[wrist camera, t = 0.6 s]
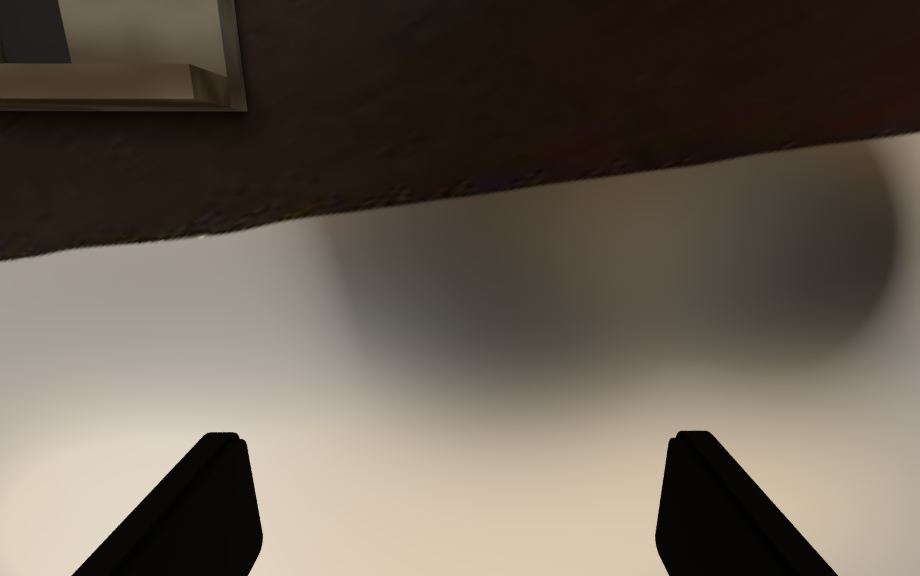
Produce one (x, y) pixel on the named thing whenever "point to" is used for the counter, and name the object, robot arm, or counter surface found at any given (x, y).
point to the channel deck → (135, 60)
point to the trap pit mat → (33, 32)
